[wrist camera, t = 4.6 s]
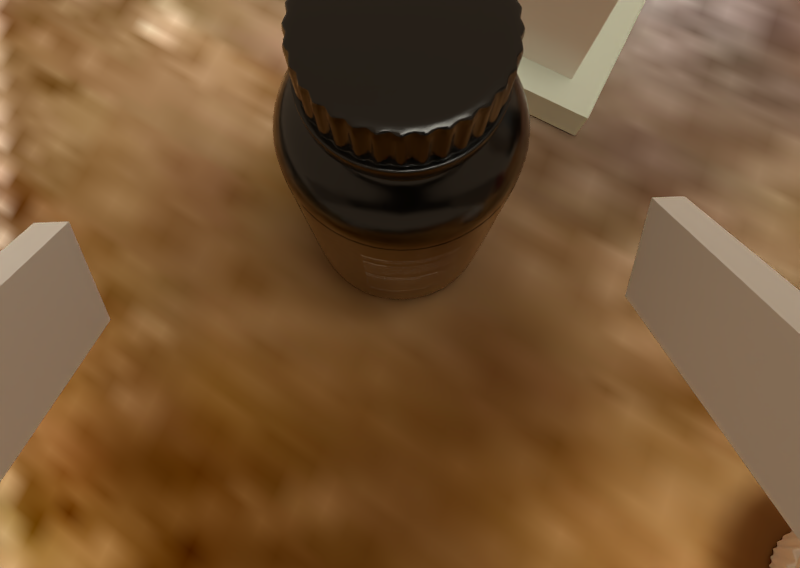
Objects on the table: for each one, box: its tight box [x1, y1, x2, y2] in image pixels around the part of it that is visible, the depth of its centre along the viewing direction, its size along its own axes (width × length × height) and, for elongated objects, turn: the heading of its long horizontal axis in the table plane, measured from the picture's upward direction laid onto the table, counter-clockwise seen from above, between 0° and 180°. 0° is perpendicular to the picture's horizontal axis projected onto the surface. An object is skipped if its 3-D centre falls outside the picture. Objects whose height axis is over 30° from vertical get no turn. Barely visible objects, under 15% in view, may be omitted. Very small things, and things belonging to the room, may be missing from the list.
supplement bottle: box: [273, 0, 530, 299], centre depth 16 cm, size 7×7×12 cm
